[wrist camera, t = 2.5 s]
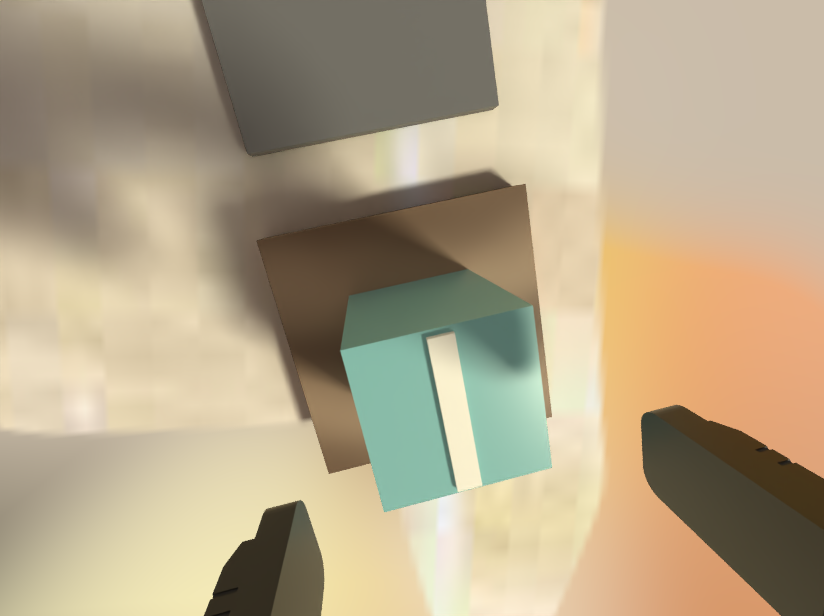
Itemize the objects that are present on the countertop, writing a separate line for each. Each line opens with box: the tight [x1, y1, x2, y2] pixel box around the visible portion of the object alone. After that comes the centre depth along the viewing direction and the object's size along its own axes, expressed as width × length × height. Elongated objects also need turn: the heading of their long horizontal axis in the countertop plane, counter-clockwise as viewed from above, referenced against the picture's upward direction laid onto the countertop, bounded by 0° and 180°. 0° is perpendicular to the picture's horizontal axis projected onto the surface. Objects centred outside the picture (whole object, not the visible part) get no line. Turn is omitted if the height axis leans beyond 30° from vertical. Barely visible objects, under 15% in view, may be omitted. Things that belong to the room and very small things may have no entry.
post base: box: [257, 184, 552, 474], centre depth 16 cm, size 12×12×7 cm
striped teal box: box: [340, 269, 552, 512], centre depth 15 cm, size 6×6×7 cm
